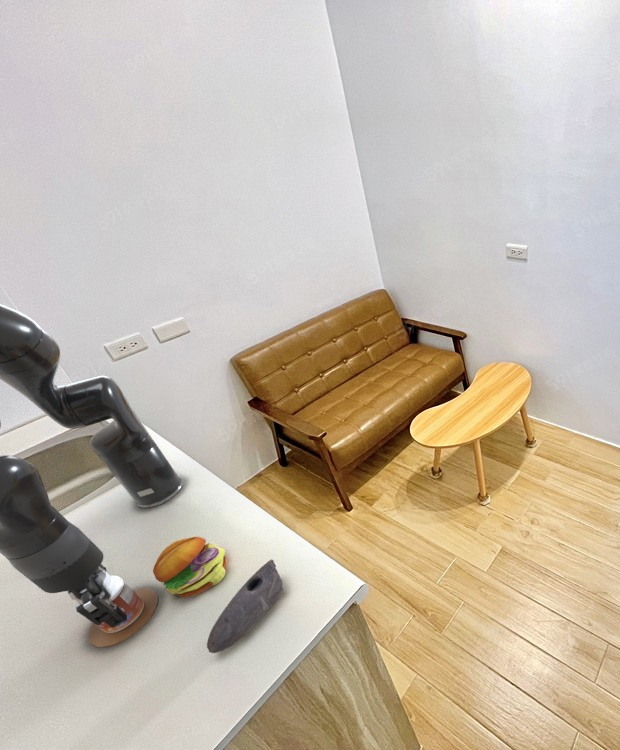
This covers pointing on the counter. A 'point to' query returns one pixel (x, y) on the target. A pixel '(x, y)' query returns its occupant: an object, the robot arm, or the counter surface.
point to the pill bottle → (121, 602)
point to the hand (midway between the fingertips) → (116, 608)
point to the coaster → (110, 639)
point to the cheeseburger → (190, 566)
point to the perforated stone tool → (246, 608)
